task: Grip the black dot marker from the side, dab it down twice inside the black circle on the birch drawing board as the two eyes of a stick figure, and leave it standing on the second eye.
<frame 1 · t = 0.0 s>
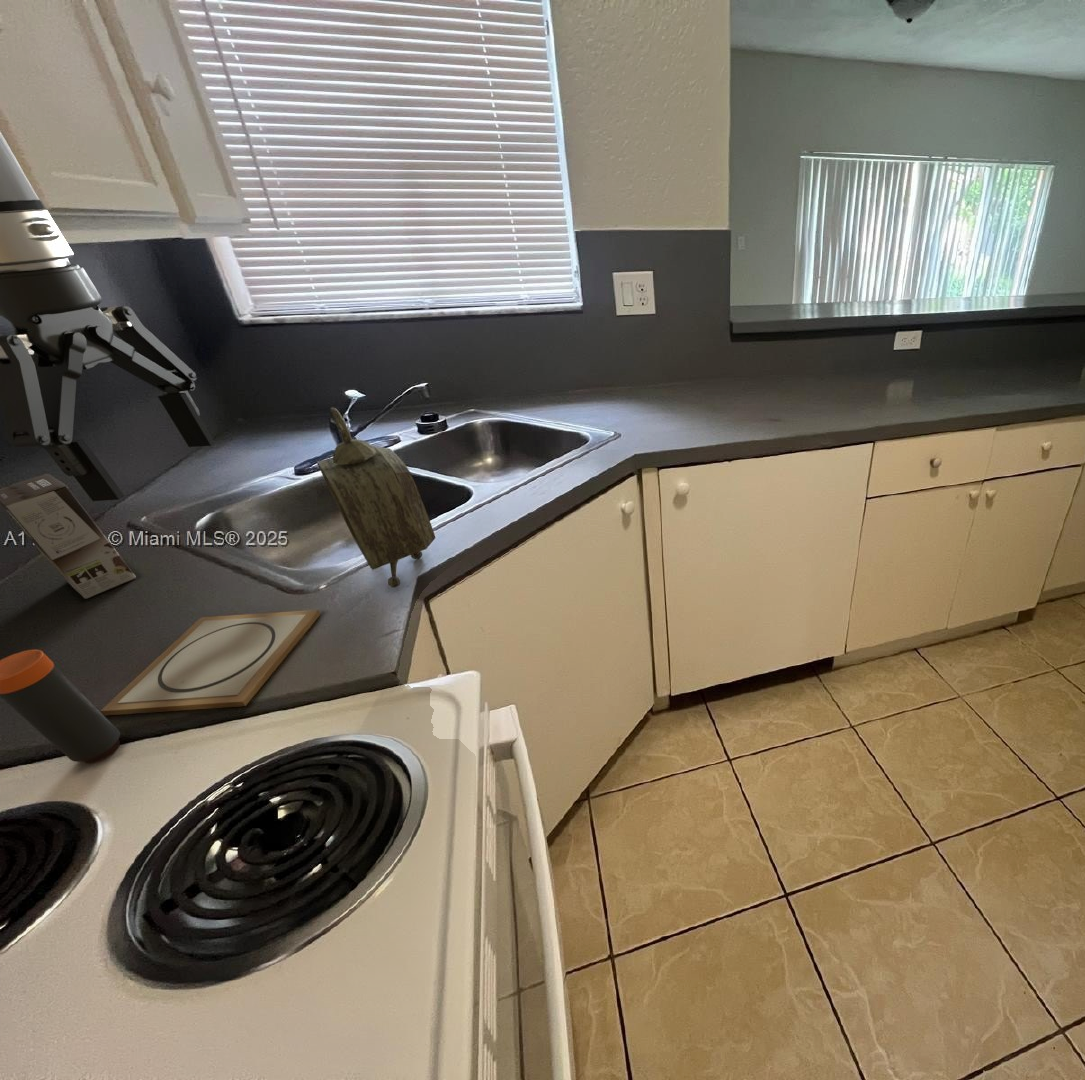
hand: (159, 469, 65), 23 cm above the worktop, tool pointing down, fingers open, 13 cm apart
coffee box: (103, 580, 87), on the worktop
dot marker: (101, 751, 60), on the worktop
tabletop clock: (405, 564, 87), on the worktop
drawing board: (223, 660, 71), on the worktop
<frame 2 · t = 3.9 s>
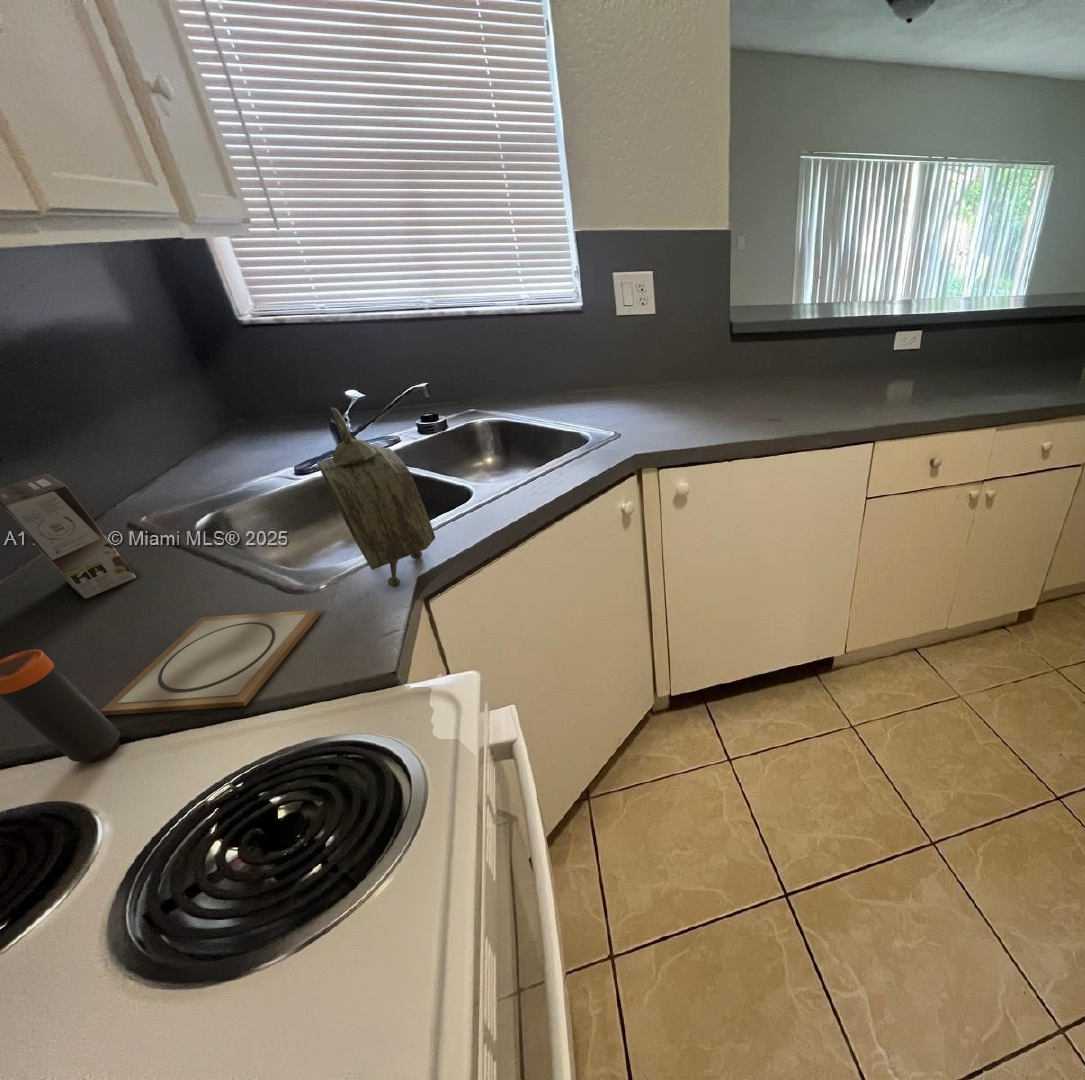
nothing on the worktop moved.
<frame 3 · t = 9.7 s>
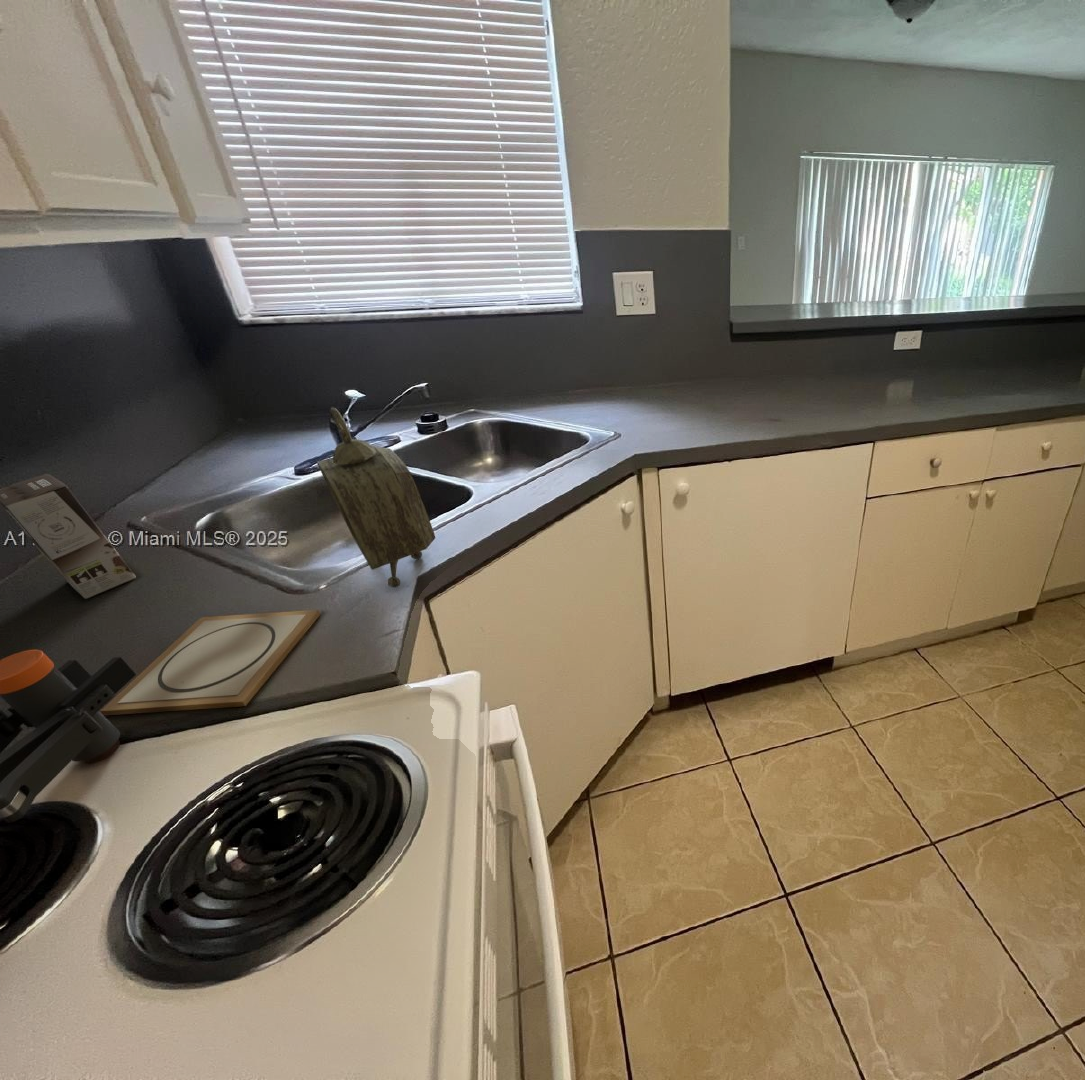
hand: (102, 668, 61), 7 cm above the worktop, tool horizontal, fingers closed on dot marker, 4 cm apart
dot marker: (101, 751, 60), on the worktop, touching gripper
everything else where it was.
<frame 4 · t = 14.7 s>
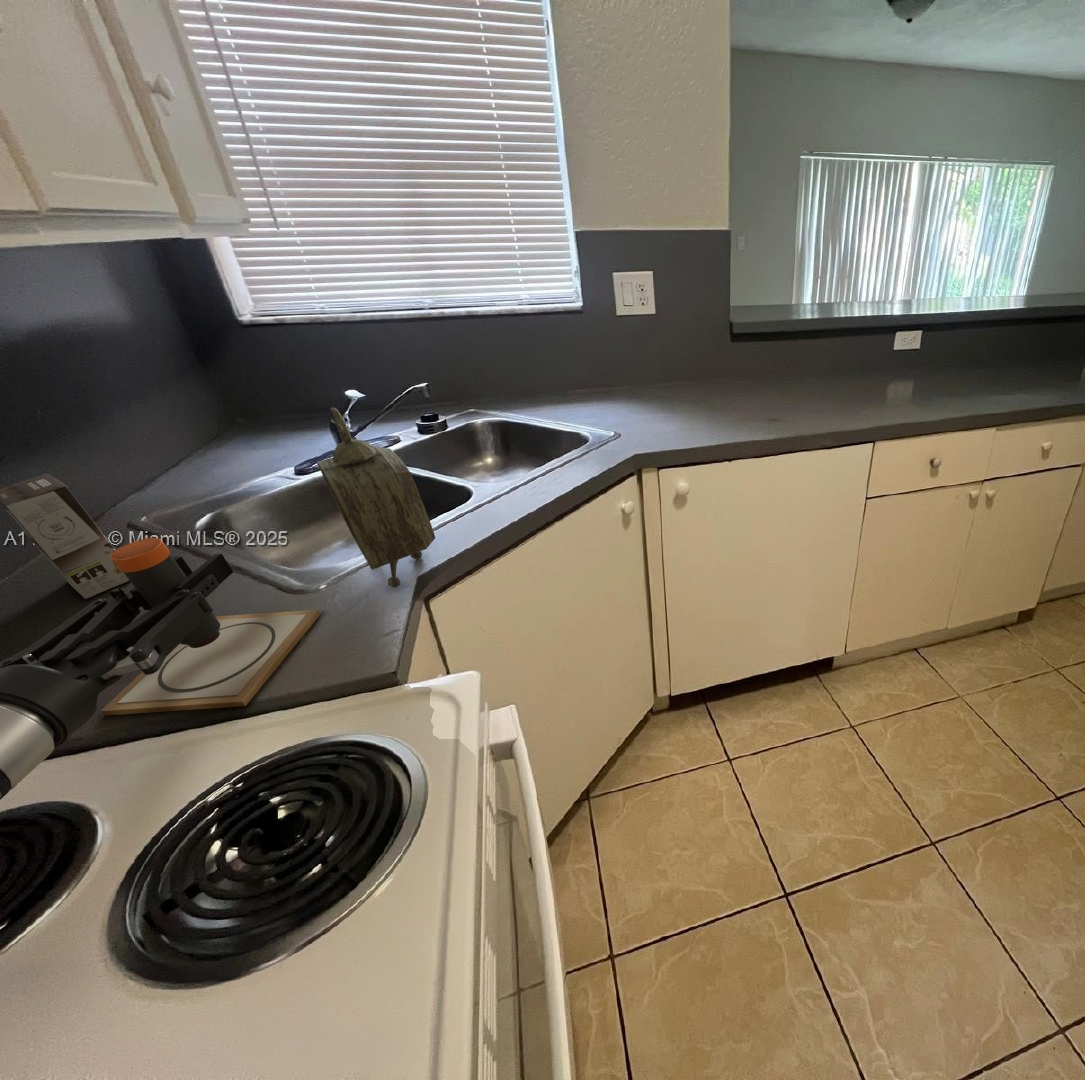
hand: (204, 564, 67), 12 cm above the worktop, tool horizontal, fingers closed on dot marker, 4 cm apart
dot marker: (204, 639, 66), point 5 cm above the worktop, touching gripper
everything else where it was.
when the fingers open (8 cm above the worktop, at t = 19.8 s): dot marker stays where it is, resting on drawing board.
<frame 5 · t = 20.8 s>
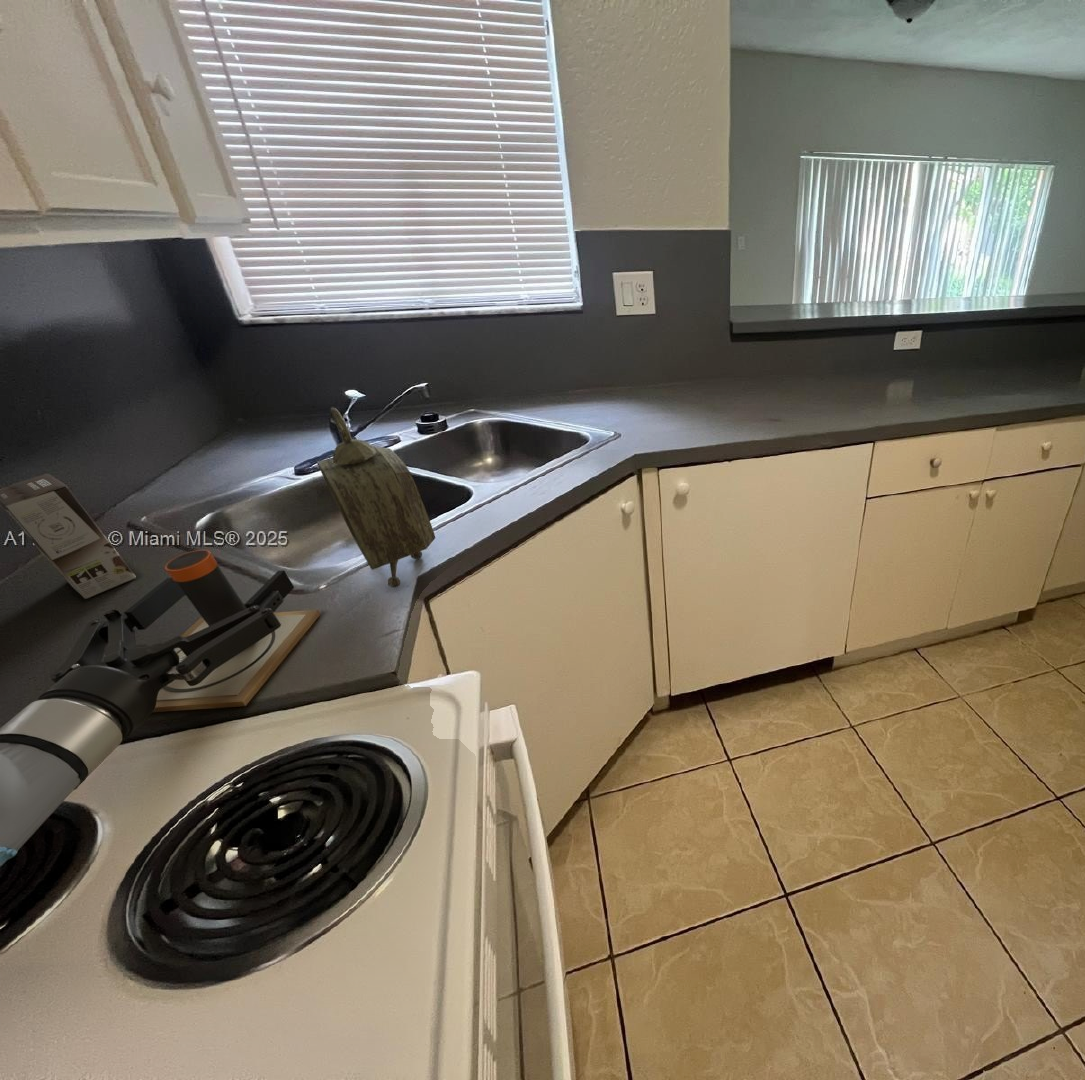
hand: (231, 582, 71), 8 cm above the worktop, tool horizontal, fingers open, 13 cm apart
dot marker: (245, 642, 72), point 1 cm above the worktop, touching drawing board
everything else where it was.
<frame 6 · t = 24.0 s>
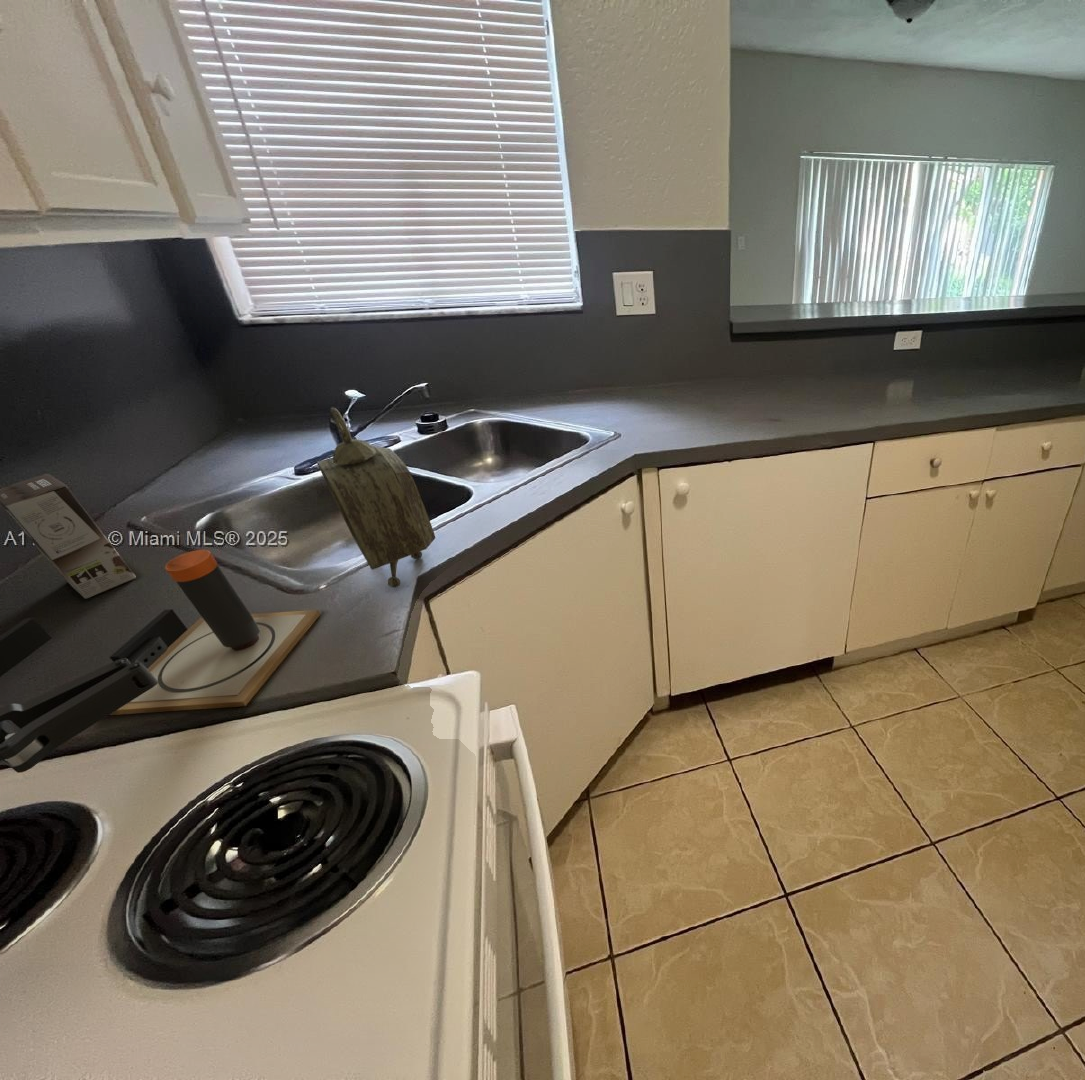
hand: (108, 623, 57), 13 cm above the worktop, tool horizontal, fingers open, 13 cm apart
nothing on the worktop moved.
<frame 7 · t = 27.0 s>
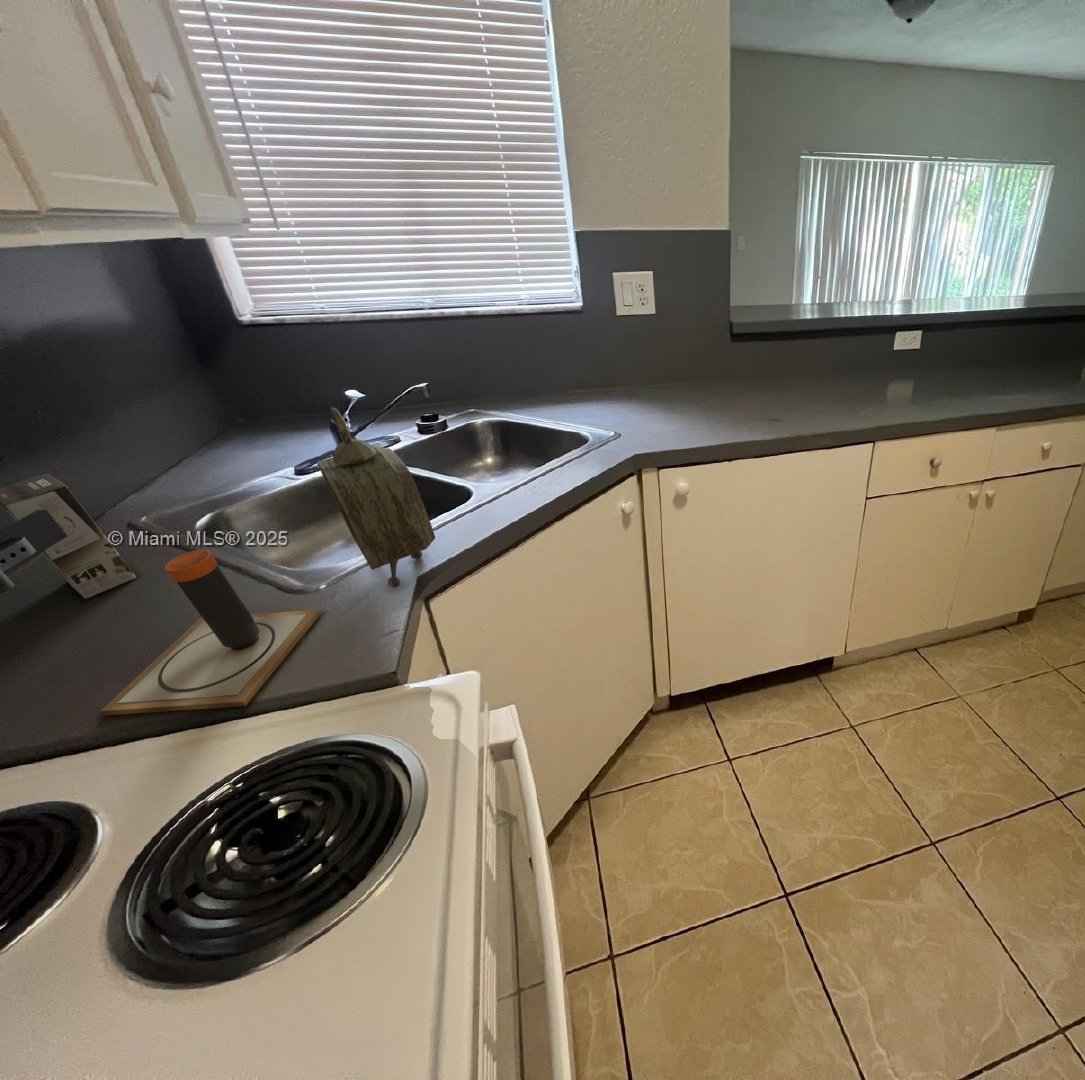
nothing on the worktop moved.
at the end: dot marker 2.8 cm from the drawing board (horizontally); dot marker tilted 0°; the gripper is holding nothing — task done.
